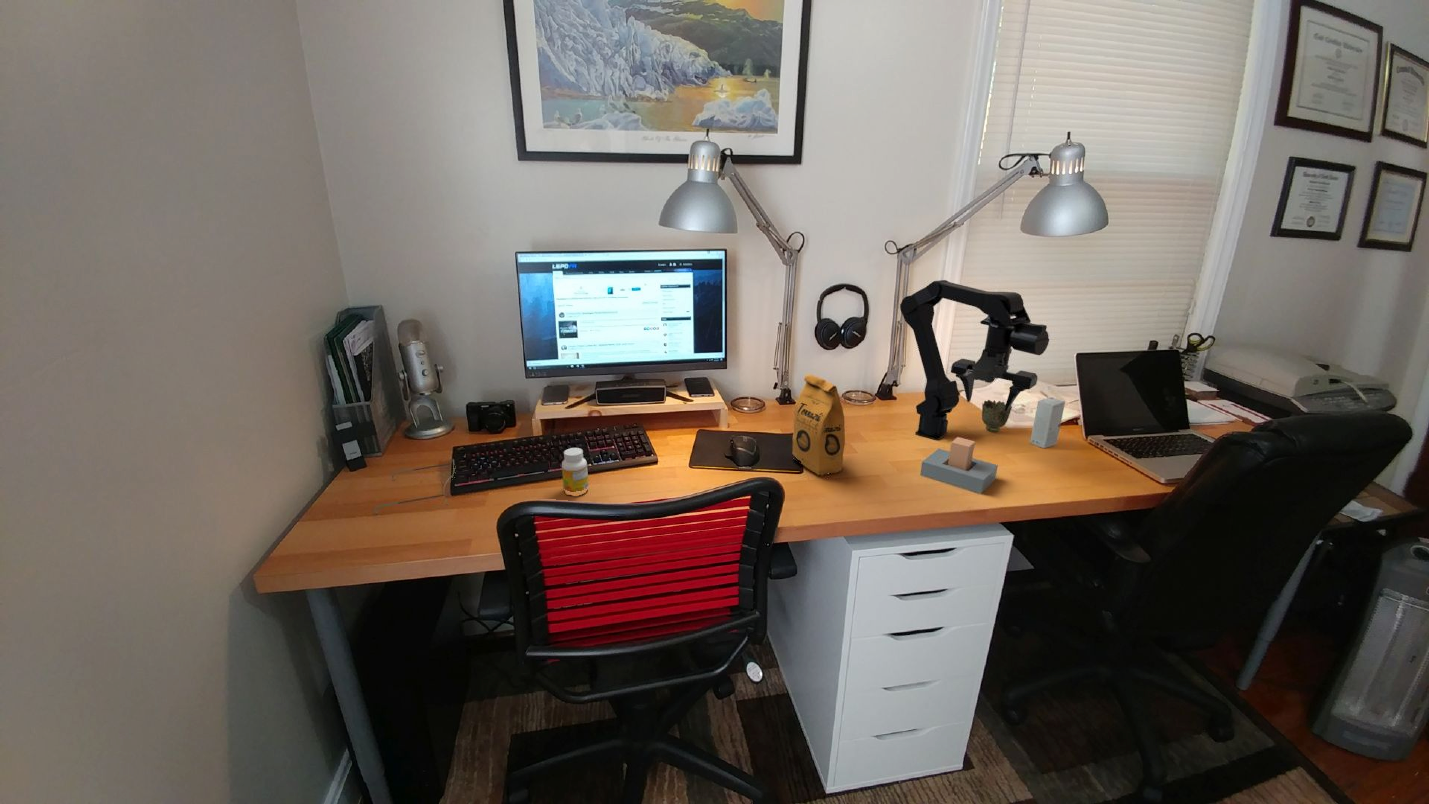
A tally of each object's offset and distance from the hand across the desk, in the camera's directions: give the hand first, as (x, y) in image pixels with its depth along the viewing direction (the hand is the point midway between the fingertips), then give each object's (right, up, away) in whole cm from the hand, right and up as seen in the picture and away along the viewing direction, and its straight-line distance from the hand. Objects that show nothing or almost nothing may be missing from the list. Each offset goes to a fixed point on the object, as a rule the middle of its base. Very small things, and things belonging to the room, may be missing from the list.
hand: (987, 406), depth 149 cm
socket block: (-11, -17, -8) cm, 21 cm away
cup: (+10, -7, +19) cm, 22 cm away
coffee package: (-43, -15, -3) cm, 46 cm away
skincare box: (+20, -10, +11) cm, 25 cm away
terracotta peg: (-11, -17, -8) cm, 21 cm away
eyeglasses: (-133, -20, -17) cm, 135 cm away
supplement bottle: (-99, -19, -16) cm, 102 cm away
